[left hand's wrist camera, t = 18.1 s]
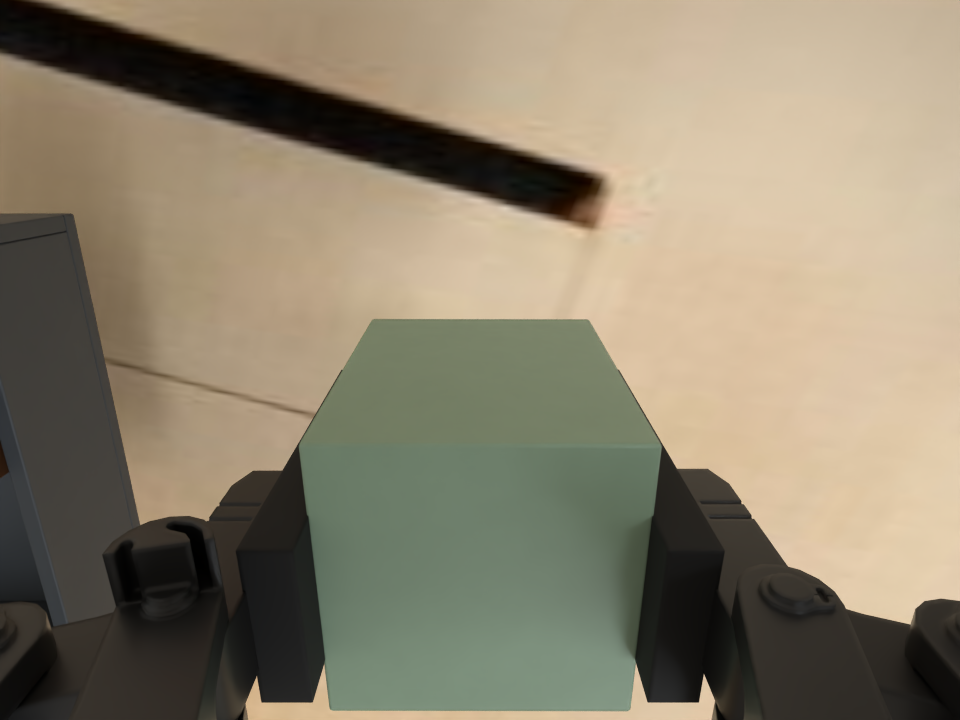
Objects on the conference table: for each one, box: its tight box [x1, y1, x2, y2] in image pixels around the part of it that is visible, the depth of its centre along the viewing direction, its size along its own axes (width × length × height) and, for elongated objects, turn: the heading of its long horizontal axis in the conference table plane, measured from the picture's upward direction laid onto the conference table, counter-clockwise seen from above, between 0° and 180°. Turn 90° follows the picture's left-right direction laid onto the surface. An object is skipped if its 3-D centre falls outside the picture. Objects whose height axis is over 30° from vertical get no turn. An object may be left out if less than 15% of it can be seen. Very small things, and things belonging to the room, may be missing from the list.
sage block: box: [299, 319, 662, 711], centre depth 12 cm, size 5×5×6 cm
